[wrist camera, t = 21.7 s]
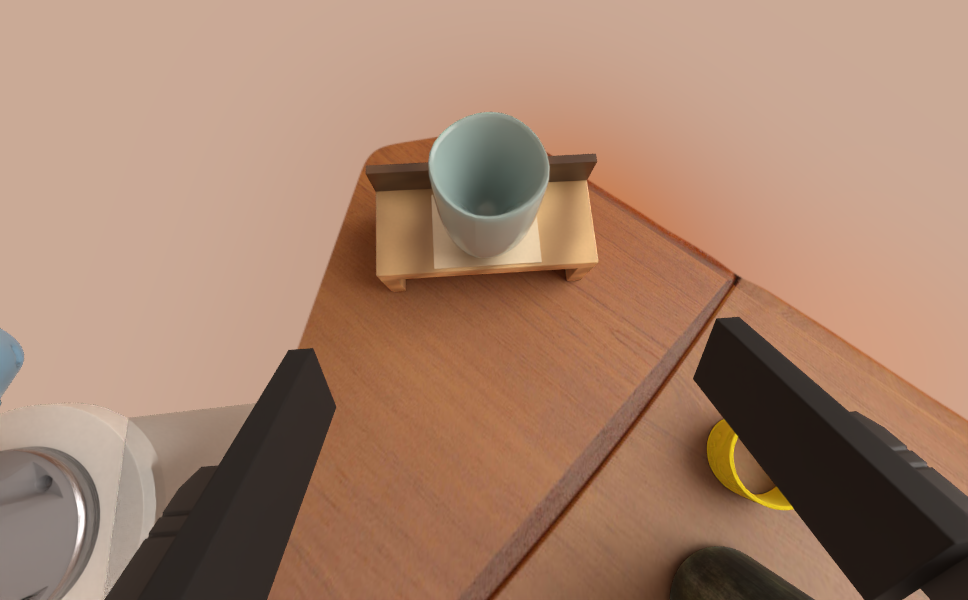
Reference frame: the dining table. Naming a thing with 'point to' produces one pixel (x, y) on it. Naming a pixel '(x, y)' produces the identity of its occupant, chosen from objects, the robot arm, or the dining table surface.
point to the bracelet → (724, 469)
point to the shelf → (431, 253)
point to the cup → (488, 182)
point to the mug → (729, 578)
